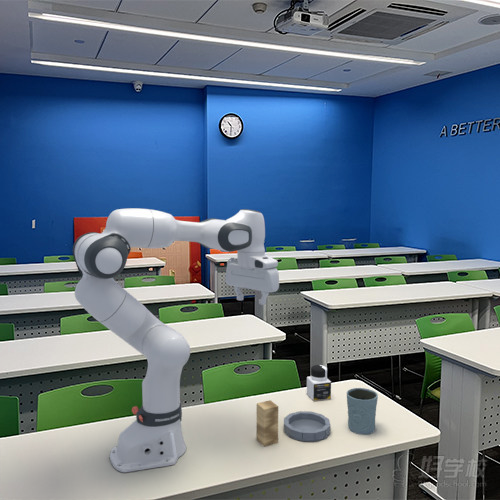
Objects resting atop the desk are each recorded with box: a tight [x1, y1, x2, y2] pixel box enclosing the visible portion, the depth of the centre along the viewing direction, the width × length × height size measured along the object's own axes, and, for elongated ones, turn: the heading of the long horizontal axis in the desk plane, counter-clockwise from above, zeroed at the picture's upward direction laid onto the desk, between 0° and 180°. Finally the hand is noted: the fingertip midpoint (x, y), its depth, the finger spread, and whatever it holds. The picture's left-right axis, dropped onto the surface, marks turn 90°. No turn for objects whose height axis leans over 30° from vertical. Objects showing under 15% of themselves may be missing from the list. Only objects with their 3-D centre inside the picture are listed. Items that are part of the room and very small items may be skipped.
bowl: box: [283, 410, 331, 443], centre depth 162 cm, size 15×15×3 cm
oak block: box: [255, 399, 279, 447], centre depth 154 cm, size 5×5×12 cm
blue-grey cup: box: [346, 387, 379, 435], centre depth 163 cm, size 10×10×12 cm
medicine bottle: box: [306, 364, 332, 402], centre depth 187 cm, size 7×7×12 cm
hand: (251, 302), depth 159 cm, fingers open, 8 cm apart
